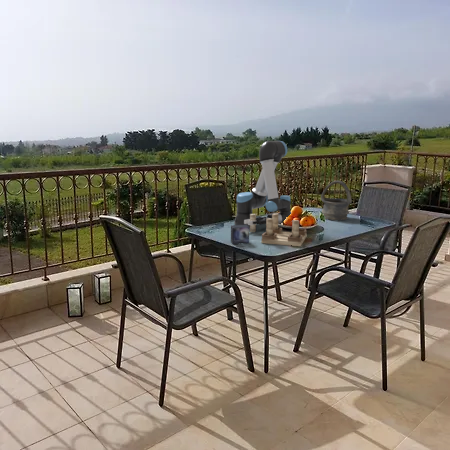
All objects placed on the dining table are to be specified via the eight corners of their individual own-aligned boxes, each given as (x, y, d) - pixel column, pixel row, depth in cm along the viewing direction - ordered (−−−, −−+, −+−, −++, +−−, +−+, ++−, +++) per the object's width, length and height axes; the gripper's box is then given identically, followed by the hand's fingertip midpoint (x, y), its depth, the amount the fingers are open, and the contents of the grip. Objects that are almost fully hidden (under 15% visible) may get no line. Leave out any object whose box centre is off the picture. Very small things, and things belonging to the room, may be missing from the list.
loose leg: (250, 230, 278) (251, 213, 276) (256, 231, 277) (256, 214, 275) (249, 232, 275) (249, 214, 272) (254, 232, 273) (255, 215, 271)
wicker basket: (338, 222, 304) (340, 182, 297) (314, 217, 322) (316, 180, 316) (356, 218, 317) (358, 180, 310) (332, 214, 335) (334, 178, 328)
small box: (232, 244, 244) (232, 227, 242) (230, 241, 250) (230, 225, 248) (249, 243, 246) (249, 226, 244) (246, 240, 252) (246, 224, 250)
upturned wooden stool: (270, 234, 269) (270, 212, 266) (306, 236, 261) (307, 215, 258) (261, 242, 247) (261, 219, 244) (300, 246, 239) (301, 222, 236)
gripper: (281, 226, 277) (253, 230, 265) (266, 221, 291) (239, 225, 280) (281, 215, 275) (253, 219, 264) (266, 211, 290) (239, 215, 278)
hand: (246, 222), depth 272 cm, fingers closed on loose leg, 4 cm apart
